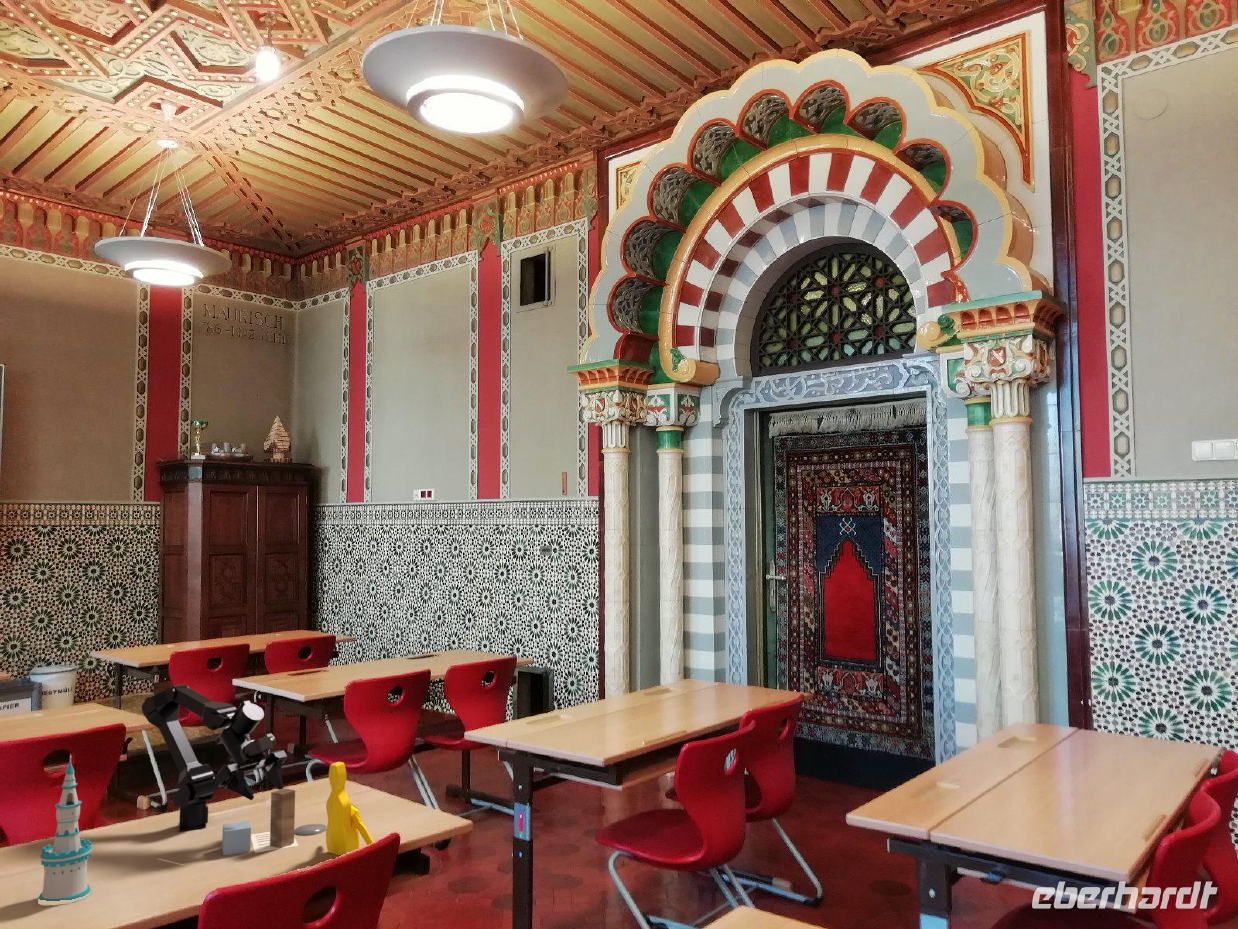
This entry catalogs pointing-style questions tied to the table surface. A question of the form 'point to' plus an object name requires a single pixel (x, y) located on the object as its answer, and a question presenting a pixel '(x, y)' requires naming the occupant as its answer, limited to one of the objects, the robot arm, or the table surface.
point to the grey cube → (236, 838)
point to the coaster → (310, 829)
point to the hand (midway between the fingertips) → (267, 794)
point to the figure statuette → (342, 816)
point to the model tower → (66, 849)
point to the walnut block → (282, 818)
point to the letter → (265, 842)
